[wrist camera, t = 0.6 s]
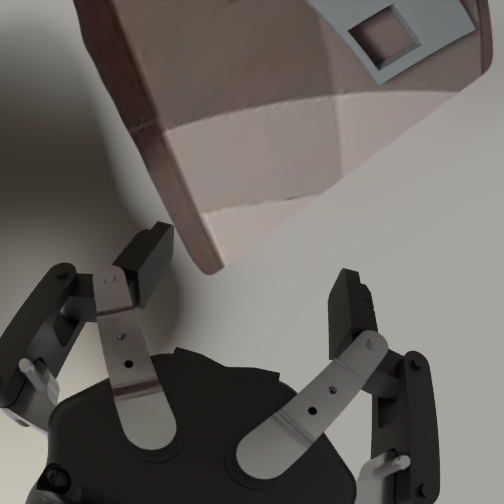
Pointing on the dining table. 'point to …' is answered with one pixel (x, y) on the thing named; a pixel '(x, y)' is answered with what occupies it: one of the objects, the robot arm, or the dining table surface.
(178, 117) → the dining table surface
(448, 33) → the gray post stand
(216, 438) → the robot arm
